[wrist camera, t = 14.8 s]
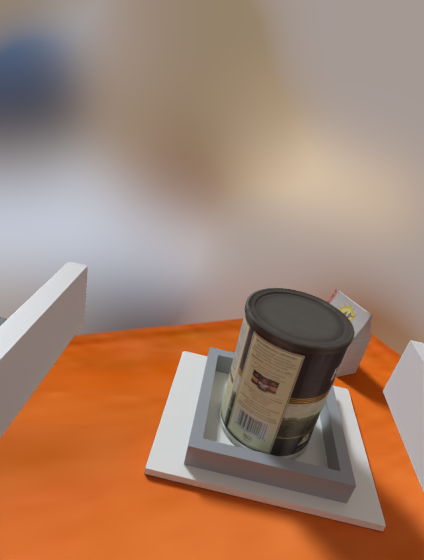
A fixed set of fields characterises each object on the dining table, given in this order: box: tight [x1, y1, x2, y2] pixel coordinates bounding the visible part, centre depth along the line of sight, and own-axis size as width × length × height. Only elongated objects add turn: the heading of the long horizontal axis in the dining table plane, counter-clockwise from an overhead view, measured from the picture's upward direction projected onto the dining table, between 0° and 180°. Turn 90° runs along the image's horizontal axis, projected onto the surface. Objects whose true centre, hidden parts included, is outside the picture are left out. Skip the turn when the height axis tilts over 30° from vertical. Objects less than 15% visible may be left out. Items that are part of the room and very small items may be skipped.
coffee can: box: [219, 288, 355, 459], centre depth 40 cm, size 10×10×14 cm
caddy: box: [144, 347, 386, 532], centre depth 43 cm, size 22×18×3 cm
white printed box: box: [328, 290, 372, 377], centre depth 55 cm, size 4×7×10 cm, turn 24°
